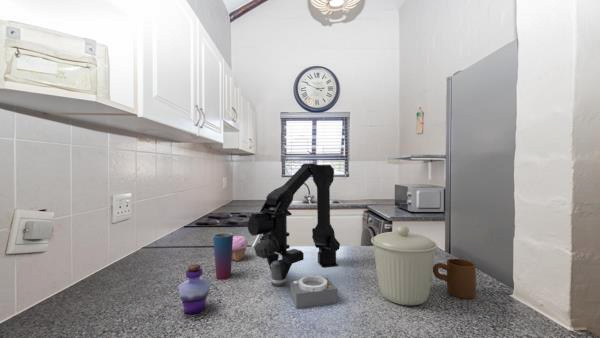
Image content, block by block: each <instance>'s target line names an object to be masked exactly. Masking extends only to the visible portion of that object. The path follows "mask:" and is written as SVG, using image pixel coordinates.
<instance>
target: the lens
mask: <svg viewBox="0 0 600 338" xmlns="http://www.w3.org/2000/svg"><path fill="white" fill-rule="evenodd" d="M278 260H279V259H278ZM278 260H277V261H273V262H271V270H270V272H271V273H270V275H271V277H270V282H271V286H272V287H275V288H281V287H285V286H286V285H287V277H286V278H285V279H284V280H283V279H282V275H281V264H280V263H279V262H278Z"/></svg>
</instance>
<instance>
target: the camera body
mask: <svg viewBox="0 0 600 338" xmlns="http://www.w3.org/2000/svg"><path fill="white" fill-rule="evenodd" d="M289 287H290V288H289V290H290V291H289V293H290V298H291V300H292V302H293V304H294V306H295V309H297V310H298V309H304V308H311V307H318V306H324V305H331V304H337V303H338V288H337V287H336V285H335V284H334V283H333V282H332V281H331V280H330V279H329V278H328V277H323V276H320V275H305V276H302V277H301V278H300V279H298V280H297V279H296V280H293V281H290V282H289Z"/></svg>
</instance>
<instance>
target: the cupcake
mask: <svg viewBox="0 0 600 338" xmlns="http://www.w3.org/2000/svg"><path fill="white" fill-rule="evenodd" d="M247 248H248V241H247V239H246V237H245V236H243V235H233V245H232V261H235V262H239V261H241V260H242V259H243V258H244V257H245V255H246V251H247Z"/></svg>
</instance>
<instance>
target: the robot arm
mask: <svg viewBox="0 0 600 338" xmlns="http://www.w3.org/2000/svg"><path fill="white" fill-rule="evenodd" d="M310 177H312V181H313V183H314V185H315V187H316V208H317V209H316V211H317V213H316V214H317V215H316V216H317V218H316V219H317V220H316V221H317V223H316V226H315V227H313V228H312V230H311V231H312V235H311V236H312V237H311V239H312V240H313V243H314V245H315V248H317V249H318V251H317V264H319V265H320V266H321V267H322V268H326V267H328V268H330V267H338V266H339V264H338V263H337V252H338V250H340V248H341V247H340V246H341V243H340V242H339V240H338V239H336V235H335V229H334V228H333V226H332V224H331V207H330V206H331V201H330V200H331V199H330V197H331V196H330V194H331V193H330V191H331V190H330V189H331V185H332V183H333V181H334V180H335V179H334V178H335V169H334V167H333V166H332V165H331V164H316V163H313V162H309V163H303V164H301V166H300V168H299V169H298V170H297V171H296V172H295V173H294V174H293V175H292V176H291V177H290V178H289V179H288V180H287V181H286V182H285V183H284V184H283V185H281V186H280V187H277V188H275V189H274V190H272V191H271V192H270V193H268V195H266V197H265V199H266V200H264V203H263V205H262V207H261V208H260V210H259V212H251V217H249V218H248V222H247V230H248V232H249V234H250V236H255V237H256V236H259V235H263V234H266V235H265V237H266V238H265V239H263V240H261V241H259V242H257V243H256V245H254V246H253V248H254V252H255V255H256V257H259V258H261V259H262V260H263V259H266V262H267V263H268V266H269V269H270V271H271V262H273V261H277V260H278V262H279V263H280V264H281V275H282V279H283V280H284V279H285V278H286V279H287V275H288V273H289V272H290V269H291V267H292V265H293V264H296V263H298V262H301V261H303V260H304V254H305V253H304V252H303V251H302V250H300V249H297V248H292V249H290V244H288V237H290V232H287V231H288V230H287V229H288V228H287V227H288V226H287V225H288V222H287V218H288V217H289V216H292V215H293V214H292V213H291V212H290V210H288V208H289V207H290V206H291V204H292V203H293V200H294V195H295V194H296V193H297V192H298V191H299V189H300V188H301V187H302V186H303V185H304V183H306V182H307V180H308V179H309V178H310ZM279 256H281V259H279Z"/></svg>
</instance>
